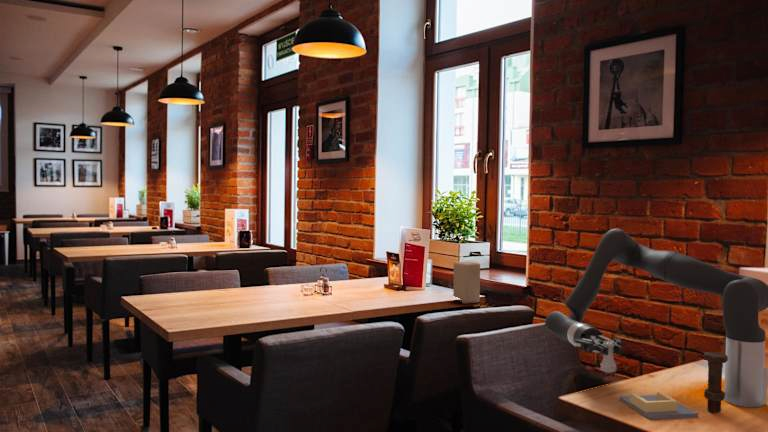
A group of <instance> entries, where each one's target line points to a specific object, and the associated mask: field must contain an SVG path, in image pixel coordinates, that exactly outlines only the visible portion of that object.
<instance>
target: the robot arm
mask: <svg viewBox="0 0 768 432" xmlns="http://www.w3.org/2000/svg"><path fill="white" fill-rule="evenodd" d="M612 261H613V262H615V263H617V264H620V265H621V266H622V265H623V266H626V267H630V268H634V269H637V270H642V271H644V272H646V273H647V274H650V275H652V276H654V277H656V278H658V279H661V280H663V281H665V282H667V283H669V284H672V285H675V286H676V287H679V288H682V289H686V290H691V291H696V292H701V293H707V294H712V295H717V296H719V297H722V325H723V326H724V330H725V355H727V356H728V361H727V362H726V363H724V391H723V392H724V393H725V398H724V400H723V401H725V402H727V403H729V404H732V405H733V406H734V405H735V406H739V407H745V408H759V407H763V406H766V405H768V404H767V403H768V368H766V367H765V366H766V363H765V362H766V361H765V359H766V357H765V356H766V330H765V329H764V328H763V327H761V326H760V323H759V312H763V311H765V310H766V309H768V284H767V283H766V282H765V281H763V280H762V279H759V278H757V277H756V278H755V277H751V276H746V275H743V274H738V273H734V272H730V271H726V270H724V269H722V268H719V267H716V266H715V265H712V264H709V263H707V262H704V261H701V260H699V259H696V258H695V257H691V256H689V255H687V254H686V255H685V254H683V253H680V252H677V251H674V250H673V251H672V250H656V249H653V248H650V247H647V246H646V245H643V244H641V243H639V242H637V241H636V240H634V239H633V238H632V237H631V236H630V235H629V234H628V233H627V232H626V231H625V230H623V229H620V228H611V229H610V230H608V231H607V232H606V233H605V234H604V235H603V236H602V238H601V239H600V241H599V243H598V245H597V247H596V249H595V251H594V253H593V255H592V257H591V259H590V261H589V262H588V264H587V266H586V269H585V271H584V273H583V275H582V276H581V278H580V279H579V281H578V282H577V284H576V285H575V287H574V288H573V290H572V291H571V292H570V294H569V296H568V297H566V300H565V301H564V305H565V307H566V308H567V309H568V310H569V311H570V317H569V316H568V315H566V314H564V313H563V312H561V311H558V310H557V311H551V312H550V313H548V315H546V318H545V319H544V325H545V327H546V328H545V329H546V330H547V331H549V333H552V334H553V335H555V336H556V337H557V338H559V339H561V340H562V341H563V342H567V343H569V344H571V345H572V346H574V349H576V350H580V351H583V352H585V353H587V354H593V353H594V354H595V353H600V354H602V355H603V356H604V355H608V347H607V346H604V345H602V344H603V343H604V341H606V342H607V341H609V342H610V341H612V342H613V344H614V345H615V346H614V347H613V350H614V352H613V354H614V353H615V354H616V355H620V356H621V355H622V353H623V346H622V341H621V339H620V338H619V337H614V338H613V340H612V339H610V338H608V337H606V336H605V335H603V333H602V331H601V330H599V329H598V328H597V327H594V326H591V325H589V324H588V323H582V321H583V319H584V316H585V314H586V312H587V311H588V309H589V308H590V306H591V305H592V304H593V302H594V301H595V300H596V297H597V296H598V294H599V291H600V288H601V285H602V282H603V281H602V280H603V278H604V275H605V272H606V270H607V268H608V266H609V265H610V263H611V262H612Z"/></svg>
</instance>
